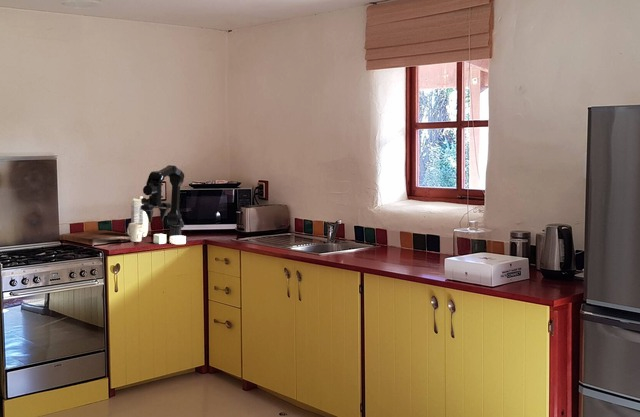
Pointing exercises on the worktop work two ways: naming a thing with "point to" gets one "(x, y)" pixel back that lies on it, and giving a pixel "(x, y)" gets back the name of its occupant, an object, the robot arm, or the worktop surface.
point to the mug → (135, 231)
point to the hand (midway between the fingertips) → (155, 221)
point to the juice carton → (139, 215)
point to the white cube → (159, 238)
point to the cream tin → (177, 239)
